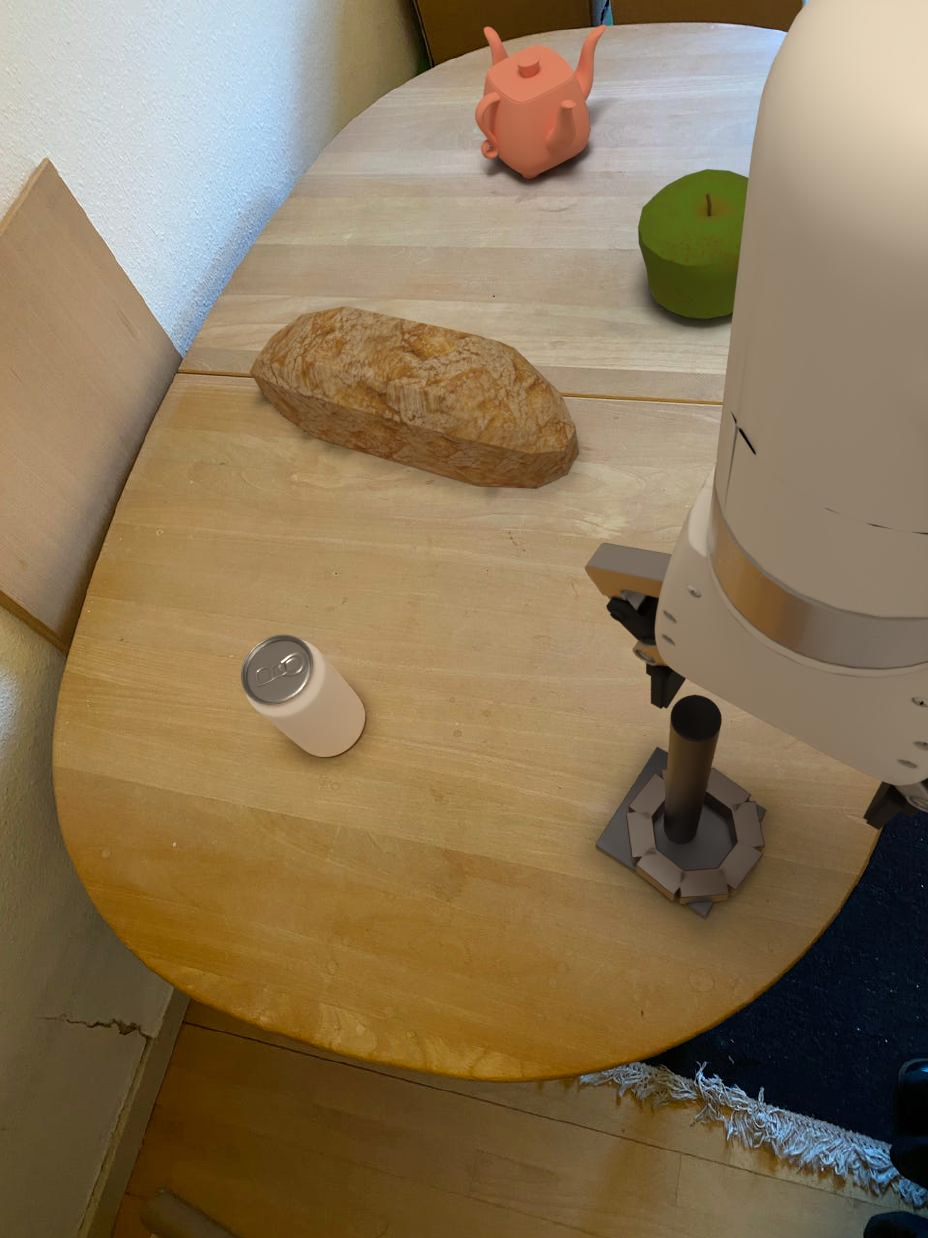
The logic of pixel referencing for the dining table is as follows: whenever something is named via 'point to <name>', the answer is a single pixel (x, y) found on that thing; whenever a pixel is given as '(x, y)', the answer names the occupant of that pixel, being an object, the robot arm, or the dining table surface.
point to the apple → (695, 242)
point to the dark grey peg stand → (681, 797)
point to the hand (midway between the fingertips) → (774, 735)
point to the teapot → (535, 105)
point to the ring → (699, 881)
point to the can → (302, 695)
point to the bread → (419, 397)
